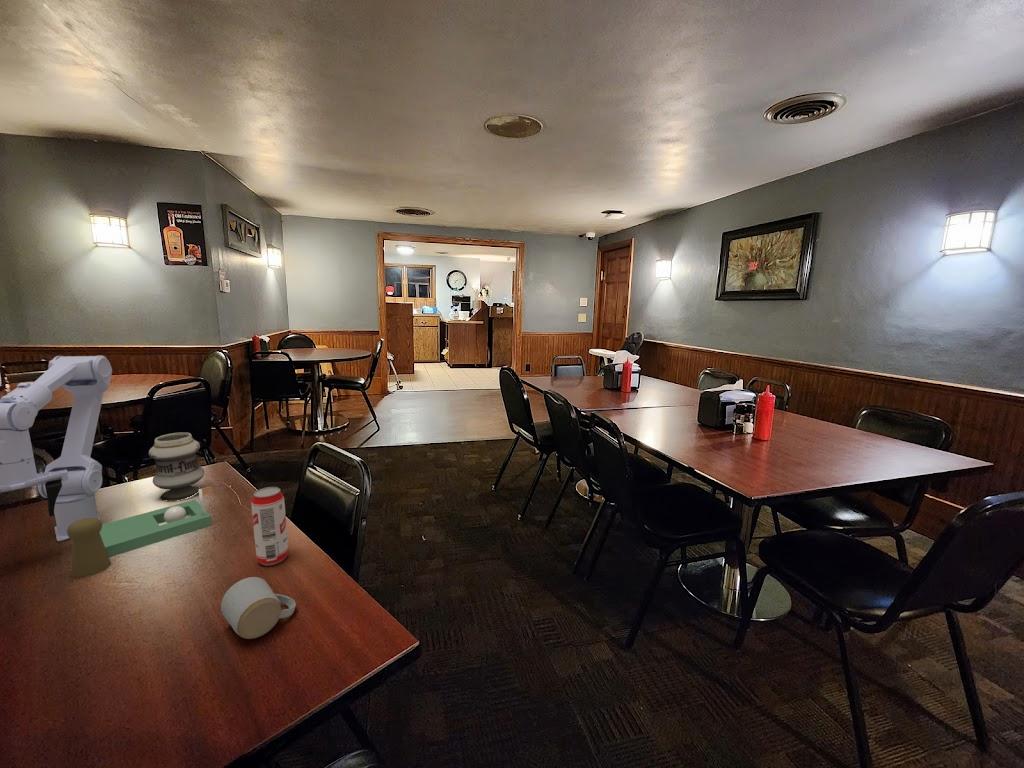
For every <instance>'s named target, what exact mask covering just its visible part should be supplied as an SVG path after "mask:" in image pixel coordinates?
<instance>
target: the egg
mask: <svg viewBox="0 0 1024 768" xmlns="http://www.w3.org/2000/svg"><path fill="white" fill-rule="evenodd" d="M186 516H187V515H186V511H185V509H184V508H182V507H180V506H174V507H171V508H169V509H168V510H167V511H166V512H165V514H164V520H165V522H164V523H166V524H167V523H170V522H174V521H177V520H181V519H184V518H187V517H186Z"/></svg>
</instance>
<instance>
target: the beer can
mask: <svg viewBox="0 0 1024 768" xmlns="http://www.w3.org/2000/svg"><path fill="white" fill-rule="evenodd" d="M252 494H253V497H252V499H251V504H250V505H251V515H252V525H253V535H254V544H255V555H256V556H255V557H256V562H257V563H258V564H260V565H262V566H268V567H269V566H275V565H277V564H279V563H281V562H283V561H284V560H285V559H286V558H287V556H288V555H289V552H290V551H289V541H288V539H289V538H288V528H287V518H286V516H287V515H286V514H287V513H286V505H285V496H284V494H283V493H282V492H281V488H279V487H278V486H269V487H267V486H266V487H263V488H259V489H257V490H255V491H254V493H252Z"/></svg>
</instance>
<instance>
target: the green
mask: <svg viewBox="0 0 1024 768" xmlns="http://www.w3.org/2000/svg"><path fill="white" fill-rule="evenodd" d="M174 506H180V507H182V508H184V509H185V511H186V516H188V515H189V514H190V515H191V516H190V515H189V516H188V517H185V518H184V519H181V520H177V521H174V522H170V523H167V522H165V520H164V514H165V512H166V511H167V510H168V509H169V508H171V507H174ZM204 511H205V515H203V516H202V515H201V506H200V502H198V500H196V499H192V500H189V501H185V502H181V503H177V504H174V505H173V504H172V505H169V506H166V507H163V508H159V509H155V510H151V511H147V512H145V513H139V514H136V515H133V516H128V517H125V518H122V519H118V520H113V521H110V522H107V523H102V529H101V531H100V535H101V538H102V540H103V543H104V546H105V549H106V551H107V554H108V557H109V558H111V557H114V556H117V555H121V554H124V553H126V552H130V551H133V550H136V549H139V548H142V547H146V546H149V545H153V544H155V543H159V542H161V541H165V540H168V539H171V538H173V537H177V536H178V537H179V536H181V535H185V534H188V533H190V532H194V531H197V530H201V529H203V528H206V527H210V526H212V525H213V524H212V517H211V515H210V514H209V512H208V511H207V510H206V509H205V508H204ZM162 523H163V524H162Z"/></svg>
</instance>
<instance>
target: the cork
mask: <svg viewBox="0 0 1024 768" xmlns="http://www.w3.org/2000/svg"><path fill="white" fill-rule="evenodd" d="M100 520H101V519H100ZM100 520H99V519H98V518H85V519H81V520H78V521H76V522H73V523H72V524H71V525H69V527H68V529H67V534H68V536H69V538H70V539H69V540H72V541H71V543H72V544H71V573H70V574H71V576H72V577H73V578H77V579H78V578H87V577H91V576H94V575H97V574H99V573H101V572H104V570H106V569H108V568H109V567H110V566H111V565H112V563H111V559H110V557H108V554H107V551H106V549H105V546H104V543H103V540H102V538H101V535H100V531H101V529H102V524H103V523H102V521H100Z"/></svg>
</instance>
